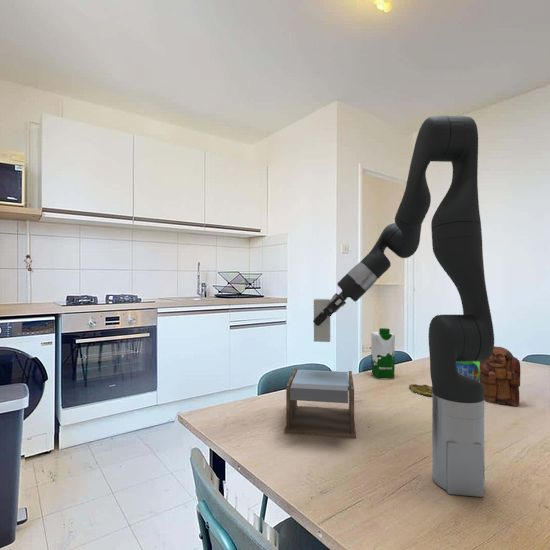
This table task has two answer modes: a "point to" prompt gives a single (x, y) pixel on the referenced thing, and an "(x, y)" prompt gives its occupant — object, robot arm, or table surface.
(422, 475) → the table surface
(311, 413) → the trapdoor stand
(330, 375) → the trapdoor
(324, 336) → the grey stone pillar
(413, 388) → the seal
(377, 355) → the milk carton
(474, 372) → the green blue printed box
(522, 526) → the table surface
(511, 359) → the wooden figurine
